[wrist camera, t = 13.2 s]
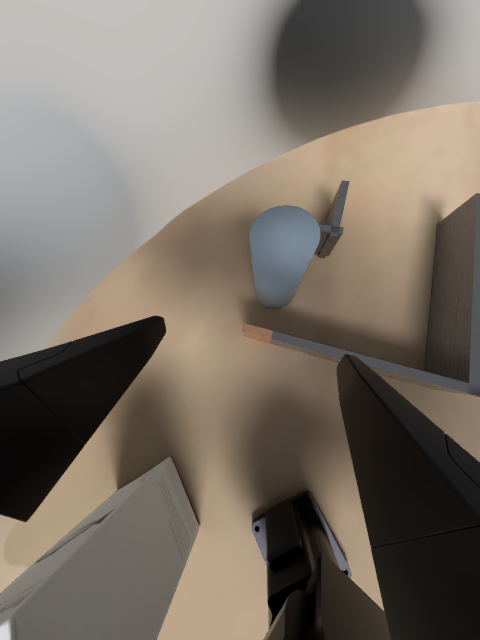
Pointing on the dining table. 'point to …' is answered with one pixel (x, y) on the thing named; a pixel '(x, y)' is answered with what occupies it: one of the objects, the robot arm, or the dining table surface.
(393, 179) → the dining table surface
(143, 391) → the dining table surface
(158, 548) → the supplement box
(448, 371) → the bent channel
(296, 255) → the slate peg
